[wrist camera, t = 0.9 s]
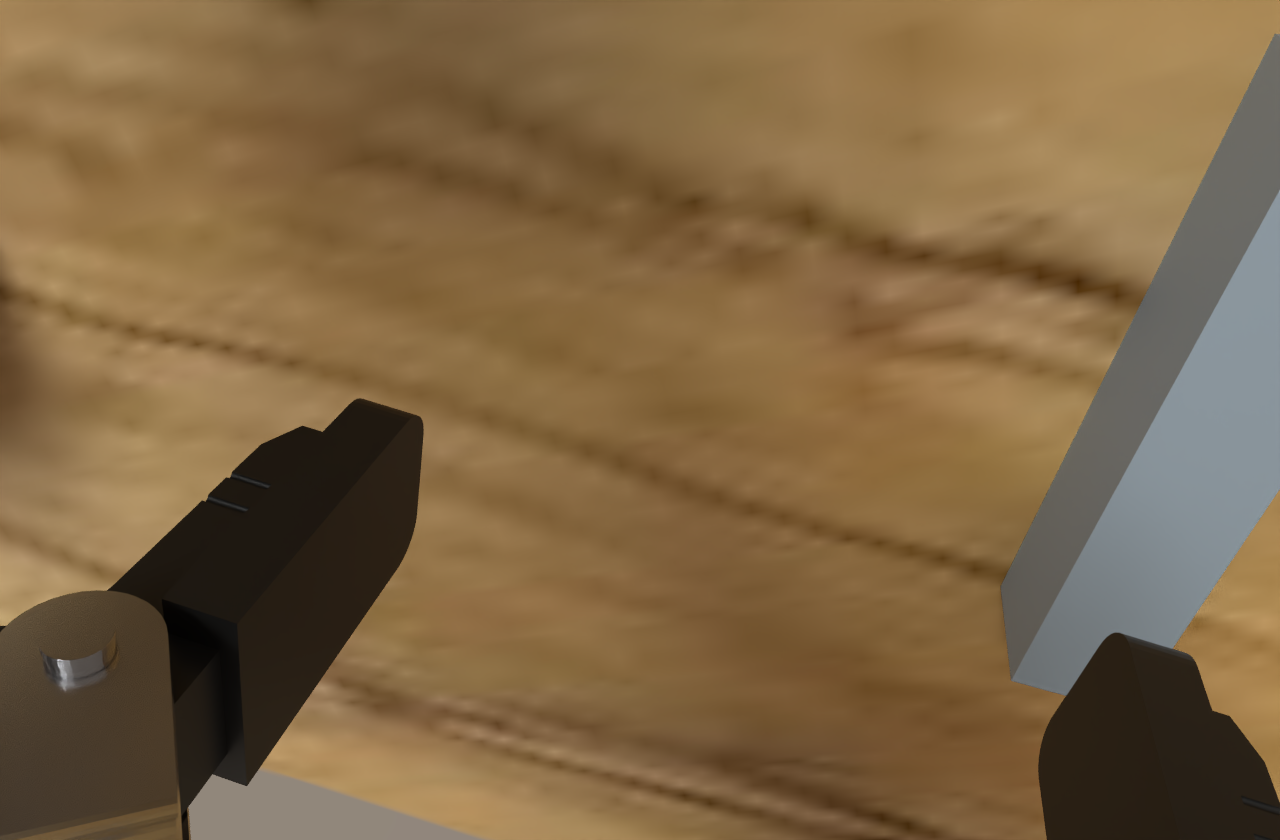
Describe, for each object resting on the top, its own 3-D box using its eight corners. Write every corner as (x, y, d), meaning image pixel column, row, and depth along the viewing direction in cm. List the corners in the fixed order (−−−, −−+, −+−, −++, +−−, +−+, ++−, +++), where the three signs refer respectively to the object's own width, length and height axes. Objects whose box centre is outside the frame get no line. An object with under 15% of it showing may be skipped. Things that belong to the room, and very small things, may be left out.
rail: (1271, 31, 23) (1341, 77, 19) (1428, 62, 22) (1530, 115, 19) (999, 581, 33) (1010, 680, 29) (1104, 609, 33) (1129, 713, 29)
